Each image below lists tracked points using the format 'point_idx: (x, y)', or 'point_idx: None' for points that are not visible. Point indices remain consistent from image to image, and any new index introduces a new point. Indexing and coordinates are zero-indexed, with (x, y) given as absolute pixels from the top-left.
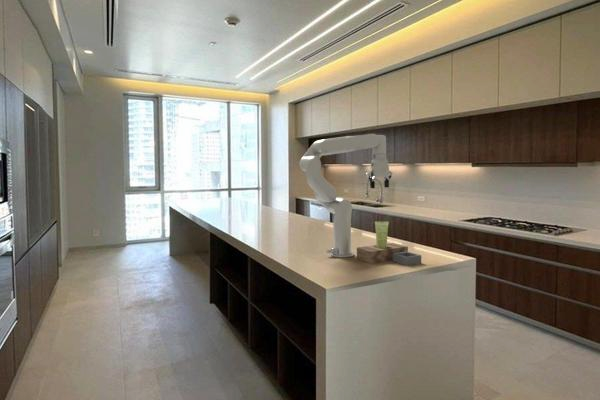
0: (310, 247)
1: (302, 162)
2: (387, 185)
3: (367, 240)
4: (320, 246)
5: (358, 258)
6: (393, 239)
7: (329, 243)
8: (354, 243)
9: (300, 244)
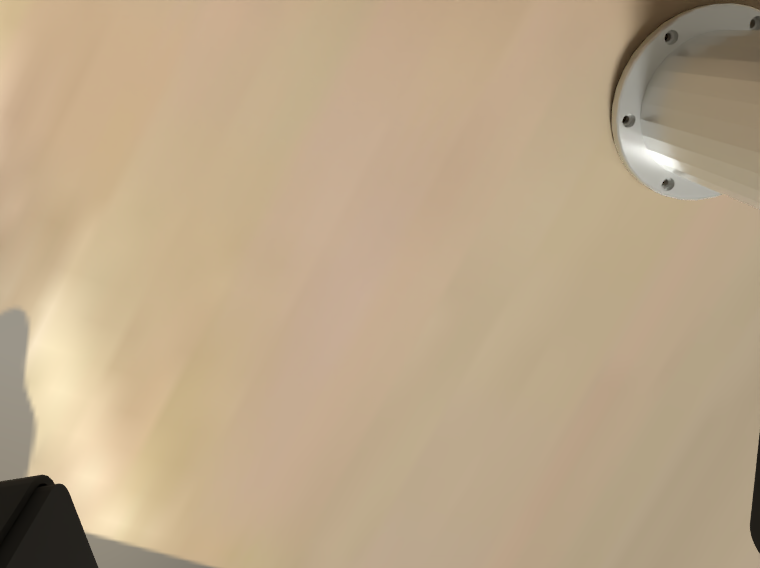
0: (750, 435)
1: None
2: (28, 546)
3: (251, 520)
4: (673, 442)
5: None
6: None
7: (564, 510)
8: (397, 456)
9: None
